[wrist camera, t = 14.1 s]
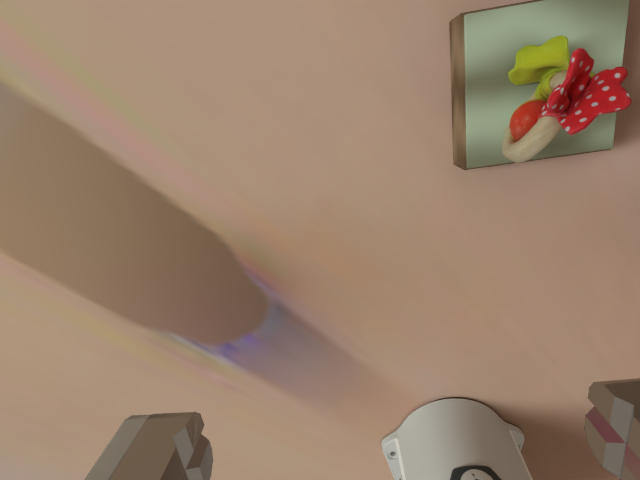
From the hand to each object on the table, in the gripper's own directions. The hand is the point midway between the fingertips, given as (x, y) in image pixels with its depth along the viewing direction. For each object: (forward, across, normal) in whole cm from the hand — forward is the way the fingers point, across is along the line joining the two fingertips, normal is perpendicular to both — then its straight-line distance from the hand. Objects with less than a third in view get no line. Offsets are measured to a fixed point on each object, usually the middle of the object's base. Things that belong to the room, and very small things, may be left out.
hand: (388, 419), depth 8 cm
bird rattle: (+29, -16, -4) cm, 33 cm away
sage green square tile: (+33, -17, -6) cm, 38 cm away
